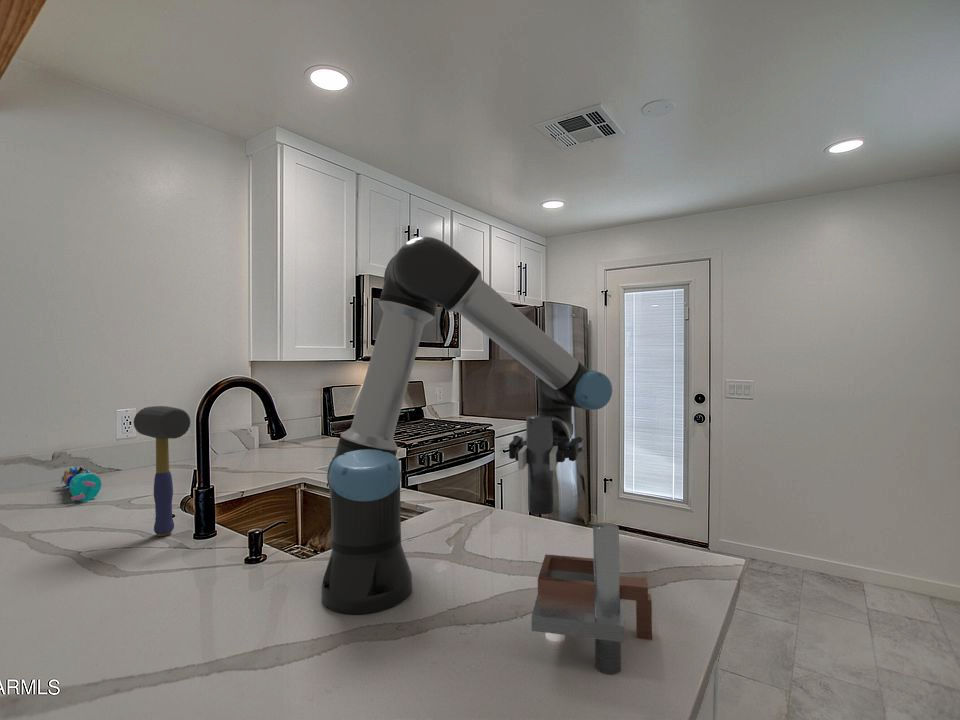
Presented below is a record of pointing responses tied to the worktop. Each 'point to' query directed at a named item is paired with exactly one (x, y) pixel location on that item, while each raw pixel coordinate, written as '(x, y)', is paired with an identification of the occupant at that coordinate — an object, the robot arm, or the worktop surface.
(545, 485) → the pin
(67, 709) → the worktop surface
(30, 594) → the worktop surface
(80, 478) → the toy
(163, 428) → the rubber mallet
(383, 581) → the robot arm
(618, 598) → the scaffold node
